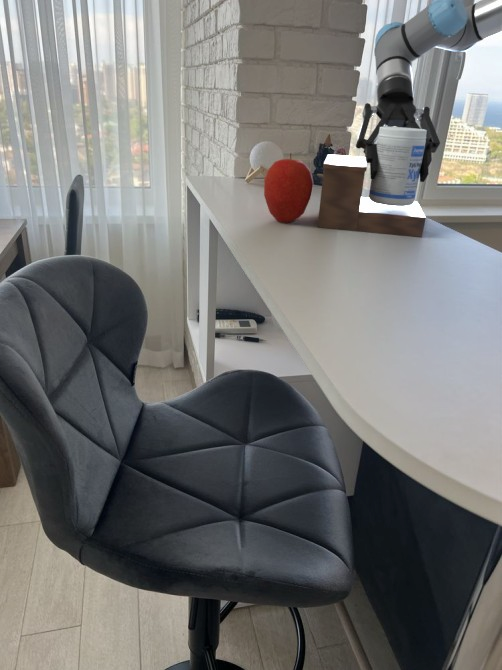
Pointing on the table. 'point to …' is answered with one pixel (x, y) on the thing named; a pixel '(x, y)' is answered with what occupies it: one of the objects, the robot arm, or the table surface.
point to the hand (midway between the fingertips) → (399, 176)
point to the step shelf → (361, 202)
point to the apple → (288, 189)
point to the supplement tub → (397, 165)
